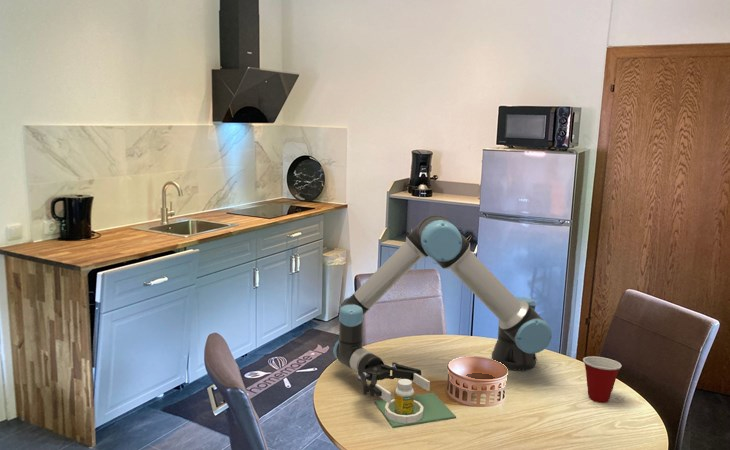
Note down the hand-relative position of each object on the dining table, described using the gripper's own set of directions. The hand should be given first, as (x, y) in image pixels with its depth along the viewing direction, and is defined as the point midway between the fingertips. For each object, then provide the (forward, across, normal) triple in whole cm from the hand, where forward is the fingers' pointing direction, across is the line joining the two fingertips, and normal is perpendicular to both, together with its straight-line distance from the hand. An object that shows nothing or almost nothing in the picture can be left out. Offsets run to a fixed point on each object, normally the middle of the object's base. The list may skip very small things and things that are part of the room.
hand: (409, 392), depth 158 cm
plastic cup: (+20, -57, -8) cm, 61 cm away
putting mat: (-3, -4, -8) cm, 10 cm away
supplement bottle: (-2, 0, -8) cm, 8 cm away
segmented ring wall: (-2, 0, -8) cm, 8 cm away
